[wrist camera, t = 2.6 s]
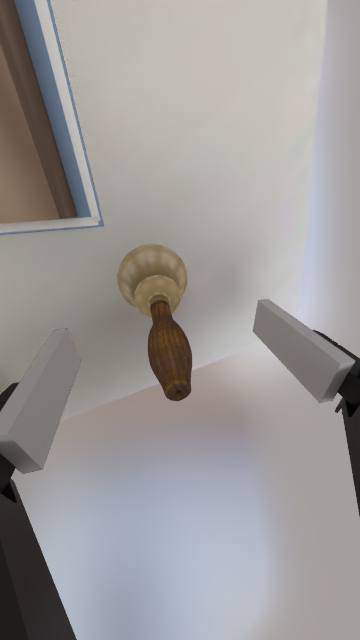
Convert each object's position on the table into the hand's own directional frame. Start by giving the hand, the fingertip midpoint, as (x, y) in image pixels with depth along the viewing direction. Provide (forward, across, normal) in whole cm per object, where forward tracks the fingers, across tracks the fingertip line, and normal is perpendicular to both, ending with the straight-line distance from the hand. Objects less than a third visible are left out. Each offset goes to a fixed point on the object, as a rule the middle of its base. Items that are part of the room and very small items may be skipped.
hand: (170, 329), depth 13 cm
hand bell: (+11, 0, 0) cm, 11 cm away
